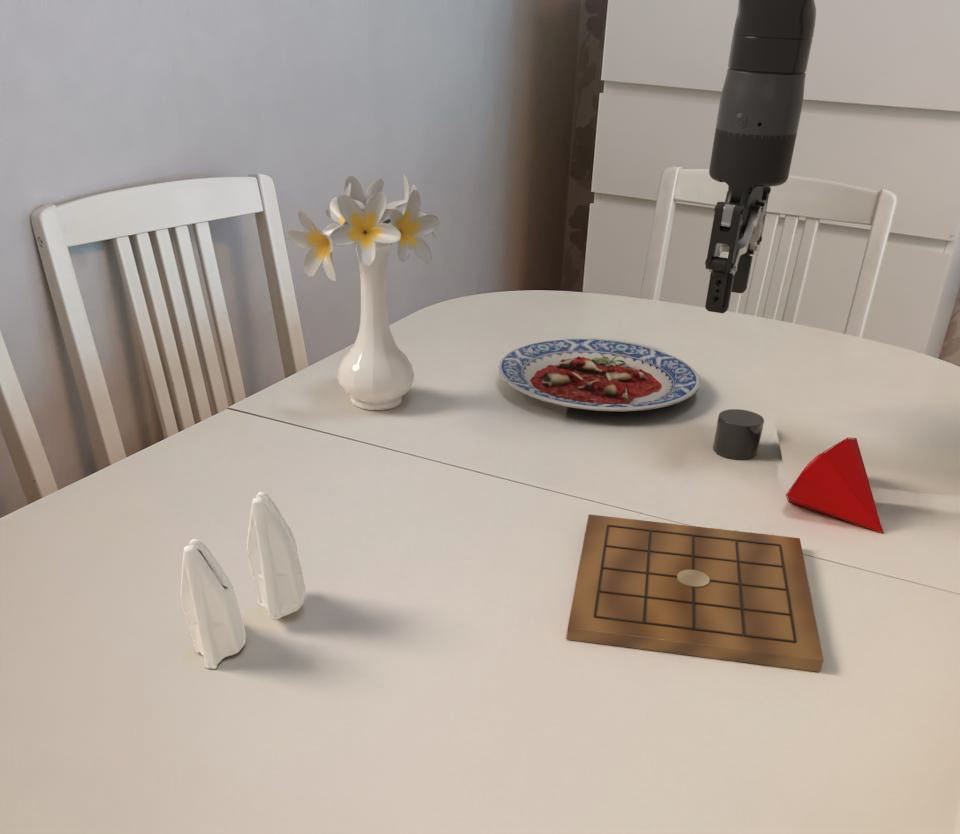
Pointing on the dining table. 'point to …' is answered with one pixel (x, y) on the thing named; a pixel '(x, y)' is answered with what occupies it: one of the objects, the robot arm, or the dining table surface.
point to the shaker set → (213, 593)
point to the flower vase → (370, 281)
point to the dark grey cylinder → (738, 434)
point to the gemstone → (838, 486)
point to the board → (695, 593)
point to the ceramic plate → (599, 375)
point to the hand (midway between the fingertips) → (726, 301)
